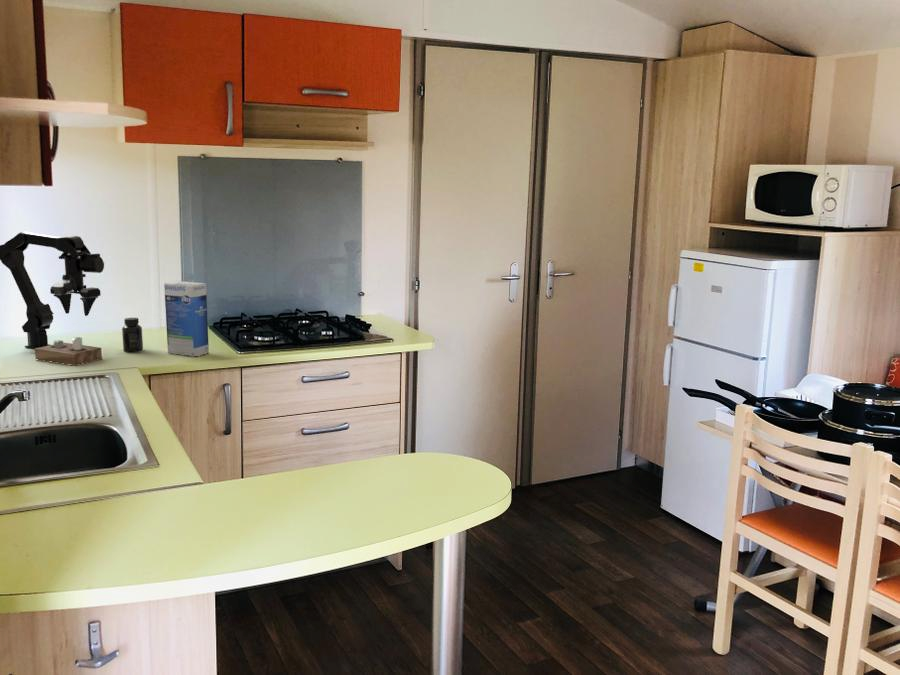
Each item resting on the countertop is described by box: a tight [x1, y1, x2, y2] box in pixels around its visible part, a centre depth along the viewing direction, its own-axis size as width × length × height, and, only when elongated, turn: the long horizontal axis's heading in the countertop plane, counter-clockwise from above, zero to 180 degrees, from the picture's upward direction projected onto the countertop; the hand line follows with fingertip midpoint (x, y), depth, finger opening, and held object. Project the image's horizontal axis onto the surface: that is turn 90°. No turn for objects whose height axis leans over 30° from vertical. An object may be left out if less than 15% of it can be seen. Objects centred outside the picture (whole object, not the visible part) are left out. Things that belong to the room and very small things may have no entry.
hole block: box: [34, 341, 103, 366], centre depth 299 cm, size 12×18×4 cm, turn 66°
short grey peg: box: [53, 339, 64, 349], centre depth 301 cm, size 3×3×6 cm
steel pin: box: [71, 336, 83, 351], centre depth 297 cm, size 3×3×8 cm
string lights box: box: [163, 280, 210, 357], centre depth 310 cm, size 13×8×26 cm, turn 68°
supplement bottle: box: [121, 317, 144, 353], centre depth 314 cm, size 7×7×12 cm
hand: (76, 314), depth 312 cm, fingers open, 9 cm apart
